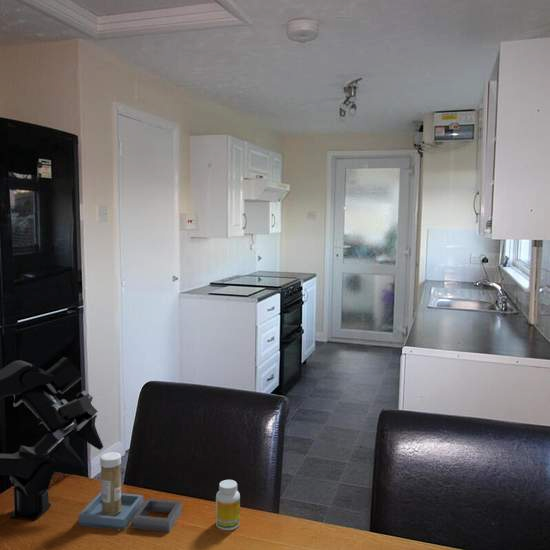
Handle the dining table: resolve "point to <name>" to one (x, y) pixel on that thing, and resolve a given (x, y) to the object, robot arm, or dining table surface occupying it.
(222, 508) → the supplement bottle
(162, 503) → the bottle holder
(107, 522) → the tray
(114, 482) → the sprinkles bottle
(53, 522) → the dining table surface
